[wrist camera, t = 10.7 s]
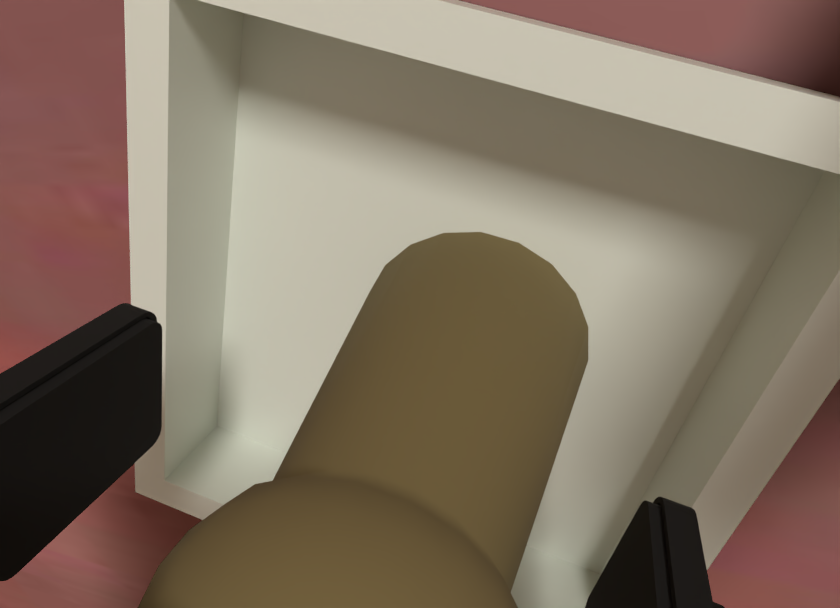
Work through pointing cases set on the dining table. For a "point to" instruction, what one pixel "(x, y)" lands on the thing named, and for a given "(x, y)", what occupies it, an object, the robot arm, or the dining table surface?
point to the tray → (489, 213)
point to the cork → (408, 447)
